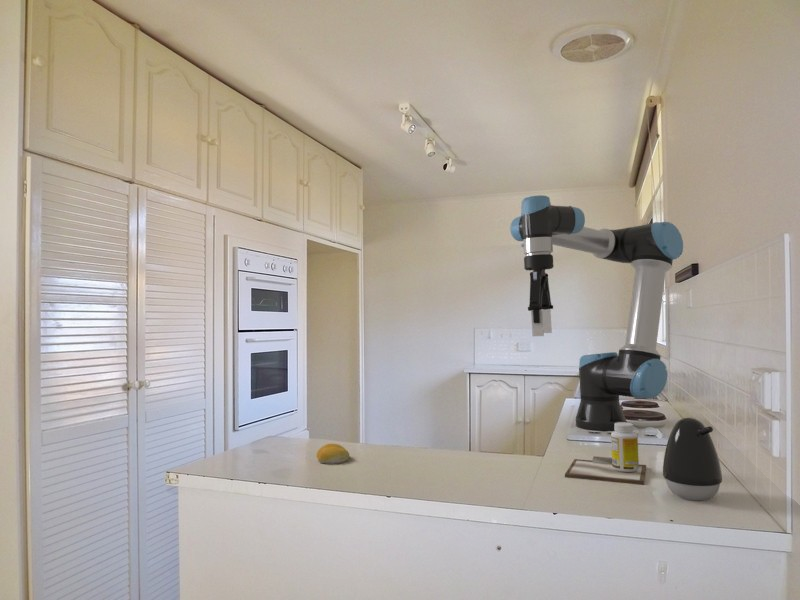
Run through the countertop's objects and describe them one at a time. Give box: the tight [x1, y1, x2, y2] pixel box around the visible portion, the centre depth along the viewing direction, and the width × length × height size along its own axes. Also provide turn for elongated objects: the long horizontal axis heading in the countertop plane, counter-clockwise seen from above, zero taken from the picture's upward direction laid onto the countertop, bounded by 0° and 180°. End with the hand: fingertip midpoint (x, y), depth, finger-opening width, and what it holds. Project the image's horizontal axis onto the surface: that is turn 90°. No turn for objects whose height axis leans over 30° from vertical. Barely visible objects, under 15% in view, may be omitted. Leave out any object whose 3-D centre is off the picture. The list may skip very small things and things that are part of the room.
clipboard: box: [564, 455, 647, 485], centre depth 127 cm, size 14×16×2 cm
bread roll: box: [315, 443, 350, 465], centre depth 145 cm, size 8×9×4 cm
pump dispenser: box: [662, 417, 723, 502], centre depth 109 cm, size 10×10×15 cm
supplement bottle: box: [610, 421, 640, 472], centre depth 127 cm, size 6×6×10 cm
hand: (542, 334), depth 150 cm, fingers open, 13 cm apart
